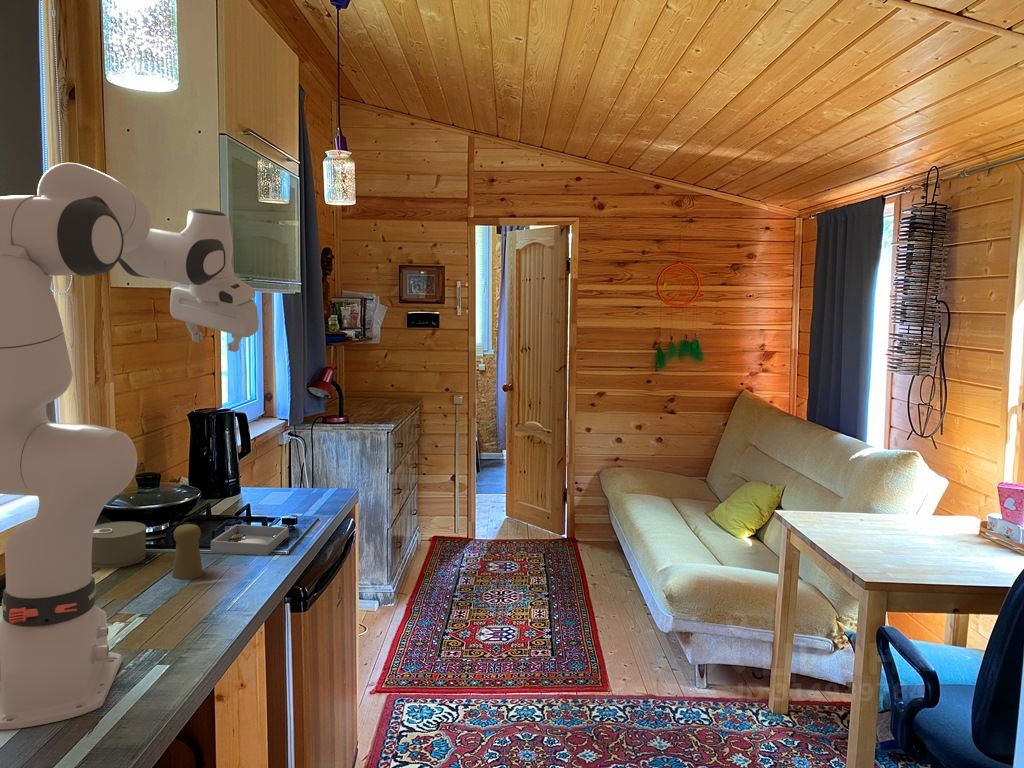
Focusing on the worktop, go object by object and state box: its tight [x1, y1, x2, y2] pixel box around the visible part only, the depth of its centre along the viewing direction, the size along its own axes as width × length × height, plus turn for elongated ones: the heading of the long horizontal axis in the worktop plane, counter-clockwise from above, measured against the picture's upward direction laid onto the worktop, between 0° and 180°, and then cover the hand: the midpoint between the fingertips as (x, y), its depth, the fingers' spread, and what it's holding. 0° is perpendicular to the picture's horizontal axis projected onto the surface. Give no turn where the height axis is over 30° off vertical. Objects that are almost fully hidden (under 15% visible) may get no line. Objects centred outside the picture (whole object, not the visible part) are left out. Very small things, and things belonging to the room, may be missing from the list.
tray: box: [210, 523, 290, 556], centre depth 175 cm, size 13×13×3 cm
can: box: [92, 520, 147, 569], centre depth 163 cm, size 12×12×7 cm
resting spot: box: [238, 539, 267, 544], centre depth 175 cm, size 7×7×1 cm
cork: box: [171, 523, 204, 580], centre depth 155 cm, size 6×6×11 cm
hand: (215, 345), depth 163 cm, fingers open, 8 cm apart
